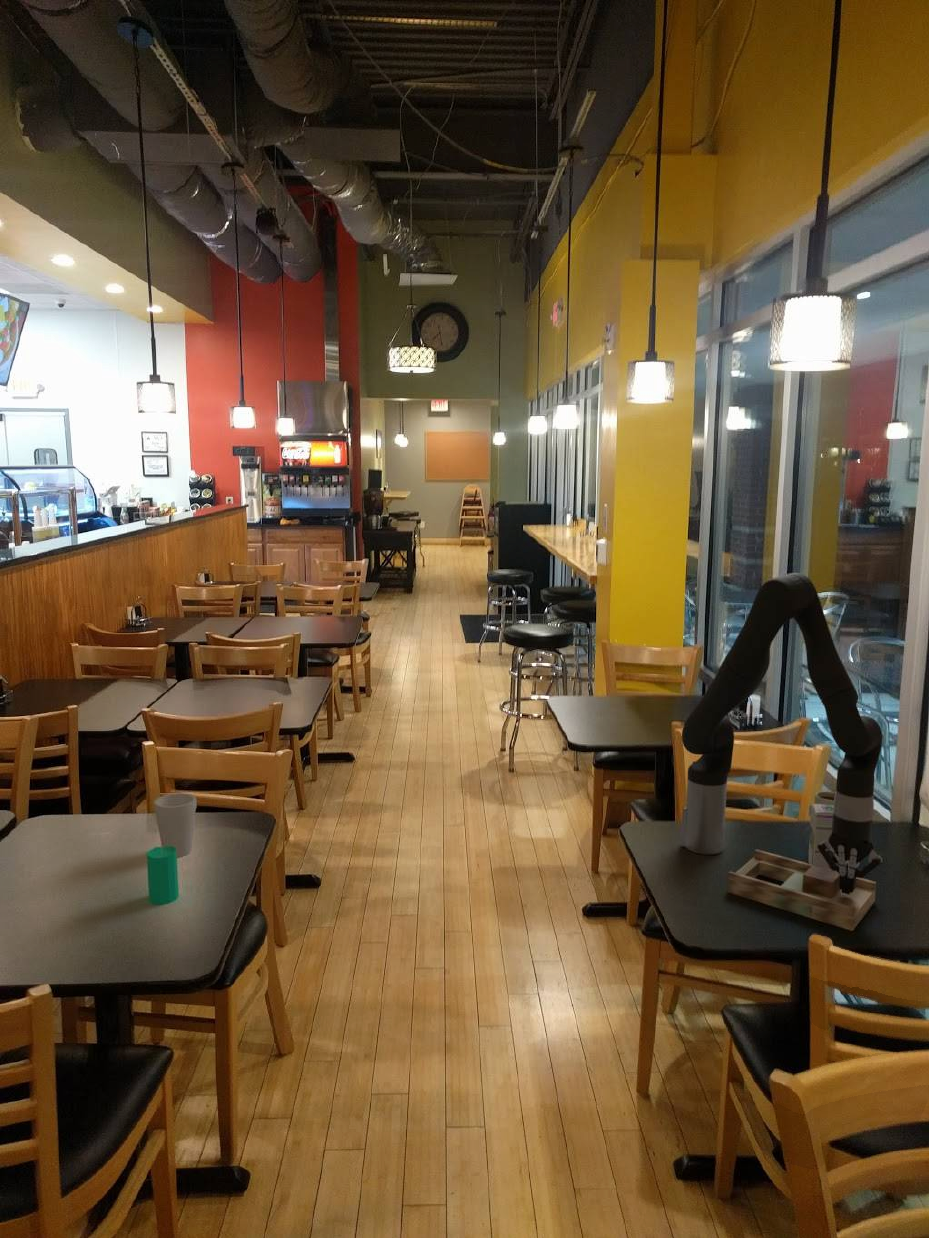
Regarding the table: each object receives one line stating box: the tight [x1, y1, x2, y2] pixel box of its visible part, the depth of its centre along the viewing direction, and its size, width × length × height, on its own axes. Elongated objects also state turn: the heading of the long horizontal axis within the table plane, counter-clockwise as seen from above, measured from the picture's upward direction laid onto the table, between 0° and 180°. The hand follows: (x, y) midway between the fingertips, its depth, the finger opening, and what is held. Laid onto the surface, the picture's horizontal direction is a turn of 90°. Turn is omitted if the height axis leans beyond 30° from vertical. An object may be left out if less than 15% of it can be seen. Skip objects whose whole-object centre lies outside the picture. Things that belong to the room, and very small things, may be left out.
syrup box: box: [807, 803, 839, 870], centre depth 203 cm, size 6×6×14 cm
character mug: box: [808, 790, 836, 818], centre depth 215 cm, size 11×7×13 cm, turn 102°
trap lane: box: [726, 849, 877, 932], centre depth 190 cm, size 26×16×4 cm, turn 51°
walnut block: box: [802, 865, 840, 899], centre depth 187 cm, size 6×6×4 cm
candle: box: [146, 843, 179, 905], centre depth 186 cm, size 6×6×12 cm
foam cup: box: [153, 792, 197, 859], centre depth 209 cm, size 10×9×13 cm
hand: (846, 892), depth 184 cm, fingers closed
